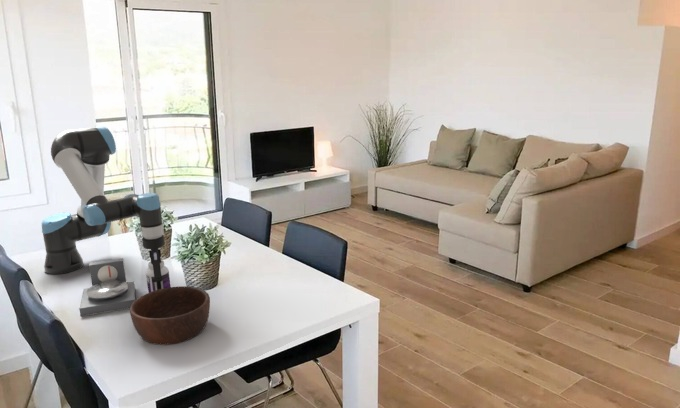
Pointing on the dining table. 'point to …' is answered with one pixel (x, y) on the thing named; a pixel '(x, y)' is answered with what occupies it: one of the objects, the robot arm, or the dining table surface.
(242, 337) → the dining table surface
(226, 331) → the dining table surface
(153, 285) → the pill bottle
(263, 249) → the dining table surface
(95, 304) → the dial scale
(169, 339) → the wooden bowl
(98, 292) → the scale pan
